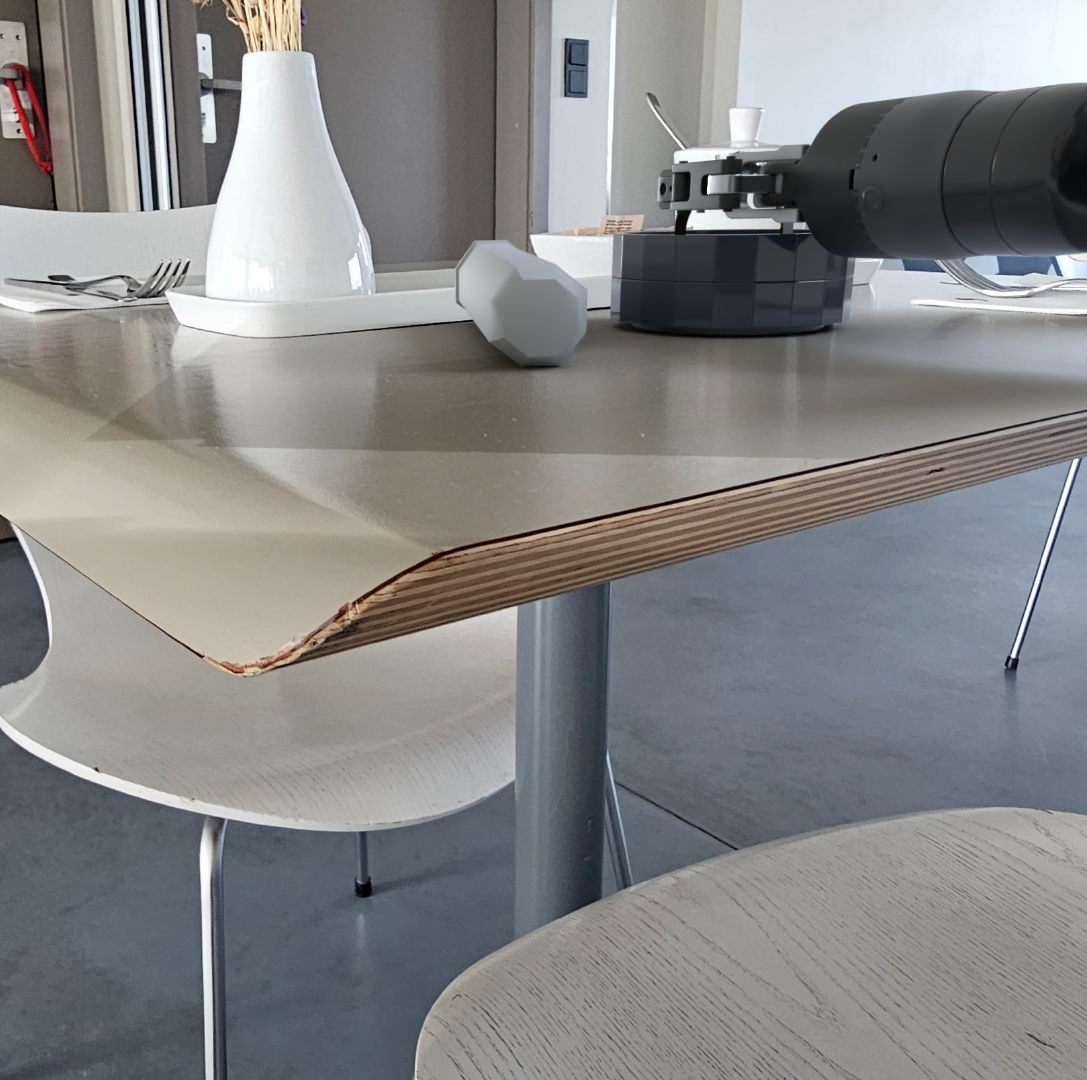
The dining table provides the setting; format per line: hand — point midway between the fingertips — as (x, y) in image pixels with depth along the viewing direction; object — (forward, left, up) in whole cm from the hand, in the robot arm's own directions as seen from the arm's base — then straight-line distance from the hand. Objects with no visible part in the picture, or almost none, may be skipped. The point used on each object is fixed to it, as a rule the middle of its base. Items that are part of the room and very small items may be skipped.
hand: (711, 189), depth 71 cm
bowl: (0, +2, -8) cm, 8 cm away
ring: (0, +2, -6) cm, 7 cm away
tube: (+15, +3, -8) cm, 18 cm away
